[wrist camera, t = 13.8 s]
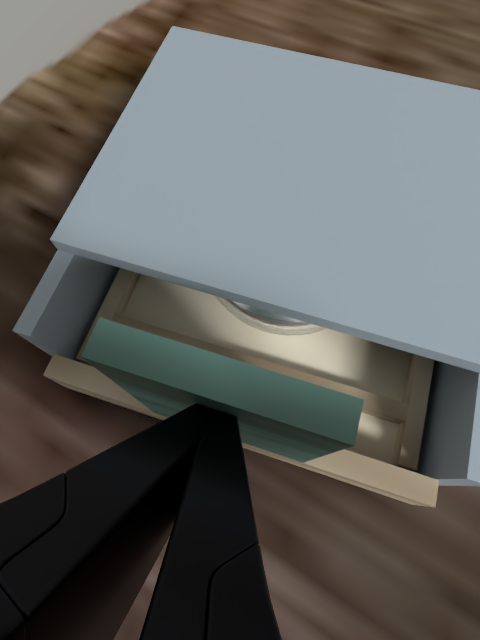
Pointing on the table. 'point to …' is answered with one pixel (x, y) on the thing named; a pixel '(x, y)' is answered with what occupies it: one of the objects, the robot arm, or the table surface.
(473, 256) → the housing
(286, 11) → the table surface
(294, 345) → the tray
